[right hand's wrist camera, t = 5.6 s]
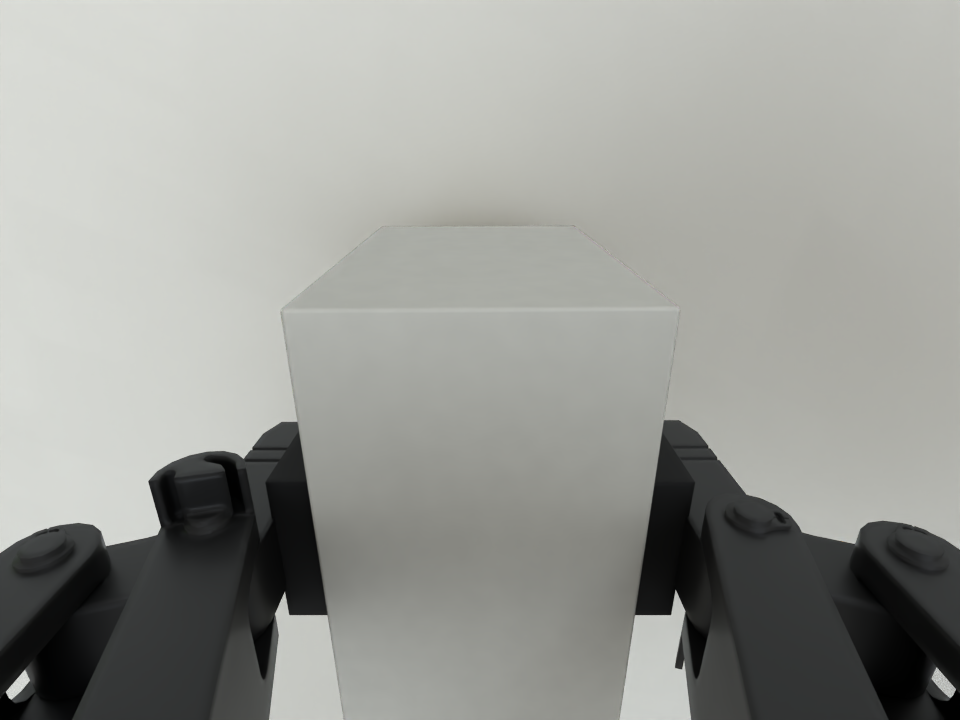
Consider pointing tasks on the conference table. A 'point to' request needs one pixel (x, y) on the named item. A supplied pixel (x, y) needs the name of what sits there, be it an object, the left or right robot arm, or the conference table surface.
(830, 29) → the conference table surface
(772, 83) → the conference table surface
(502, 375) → the beam
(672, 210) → the conference table surface
